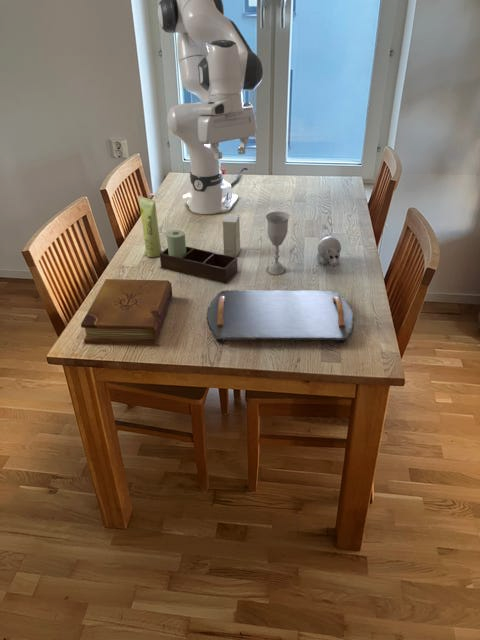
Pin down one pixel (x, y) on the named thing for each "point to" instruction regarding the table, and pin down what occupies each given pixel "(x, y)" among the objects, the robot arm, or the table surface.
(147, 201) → the tube
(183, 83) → the robot arm
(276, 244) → the chalice
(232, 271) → the rack
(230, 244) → the cosmetic box
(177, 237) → the towel roll
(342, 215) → the table surface
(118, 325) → the diary
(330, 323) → the serving tray
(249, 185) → the table surface
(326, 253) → the round bodied animal figurine
